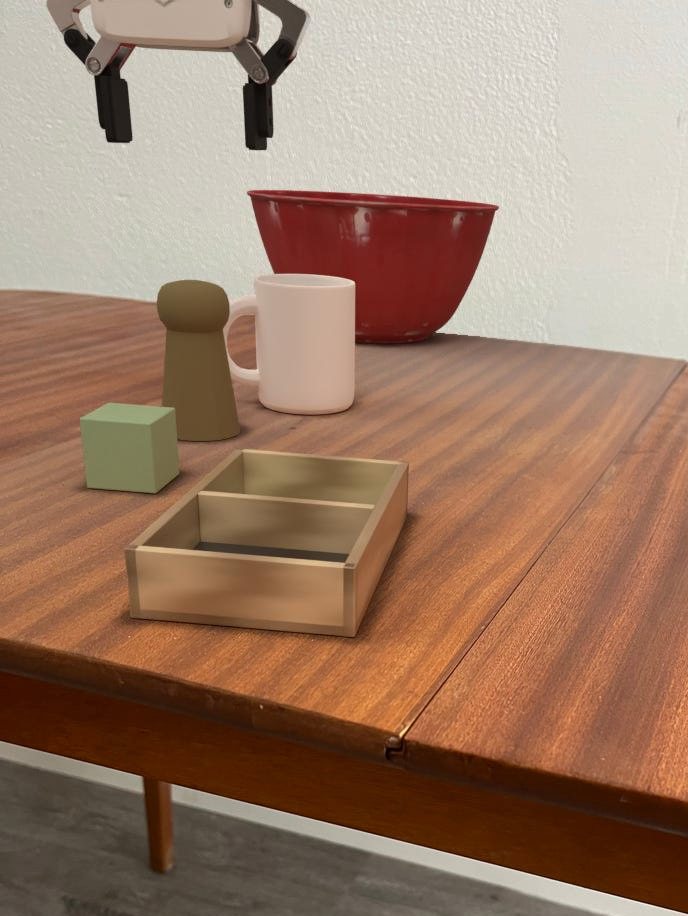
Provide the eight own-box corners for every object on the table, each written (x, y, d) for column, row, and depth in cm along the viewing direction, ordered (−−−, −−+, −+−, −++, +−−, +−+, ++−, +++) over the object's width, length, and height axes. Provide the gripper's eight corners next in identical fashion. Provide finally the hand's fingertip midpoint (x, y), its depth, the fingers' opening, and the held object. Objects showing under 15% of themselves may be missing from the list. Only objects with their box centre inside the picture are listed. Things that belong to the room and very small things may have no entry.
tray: (130, 618, 48) (123, 548, 47) (238, 502, 64) (236, 448, 63) (354, 637, 48) (355, 568, 46) (407, 516, 64) (408, 461, 62)
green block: (86, 488, 65) (78, 418, 63) (114, 468, 69) (108, 402, 67) (156, 494, 65) (150, 423, 63) (180, 474, 69) (175, 407, 67)
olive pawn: (154, 422, 80) (143, 275, 76) (232, 419, 83) (226, 276, 78) (165, 442, 76) (154, 286, 71) (248, 439, 78) (242, 287, 73)
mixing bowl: (261, 311, 134) (257, 183, 128) (477, 321, 138) (484, 196, 131) (240, 351, 109) (234, 193, 102) (504, 361, 113) (515, 209, 106)
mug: (218, 417, 83) (212, 284, 79) (209, 395, 90) (202, 271, 86) (363, 415, 87) (365, 287, 82) (343, 393, 94) (344, 274, 89)
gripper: (1, -183, 61) (41, 139, 68) (290, -171, 60) (299, 153, 67) (56, -150, 67) (88, 140, 75) (317, -139, 67) (322, 152, 74)
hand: (188, 146), depth 71 cm, fingers open, 9 cm apart
